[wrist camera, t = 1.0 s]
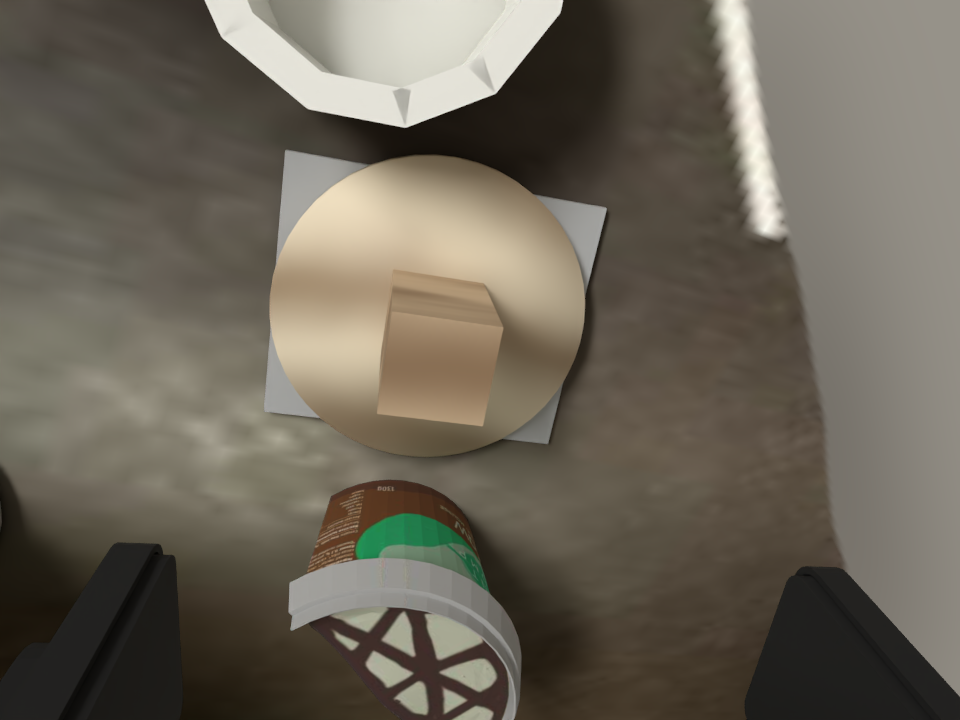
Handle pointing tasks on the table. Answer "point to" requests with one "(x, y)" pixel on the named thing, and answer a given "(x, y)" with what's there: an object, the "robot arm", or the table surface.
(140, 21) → the table surface
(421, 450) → the lid
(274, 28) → the bowl
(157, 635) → the robot arm
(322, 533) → the food container
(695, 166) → the table surface
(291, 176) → the mat
